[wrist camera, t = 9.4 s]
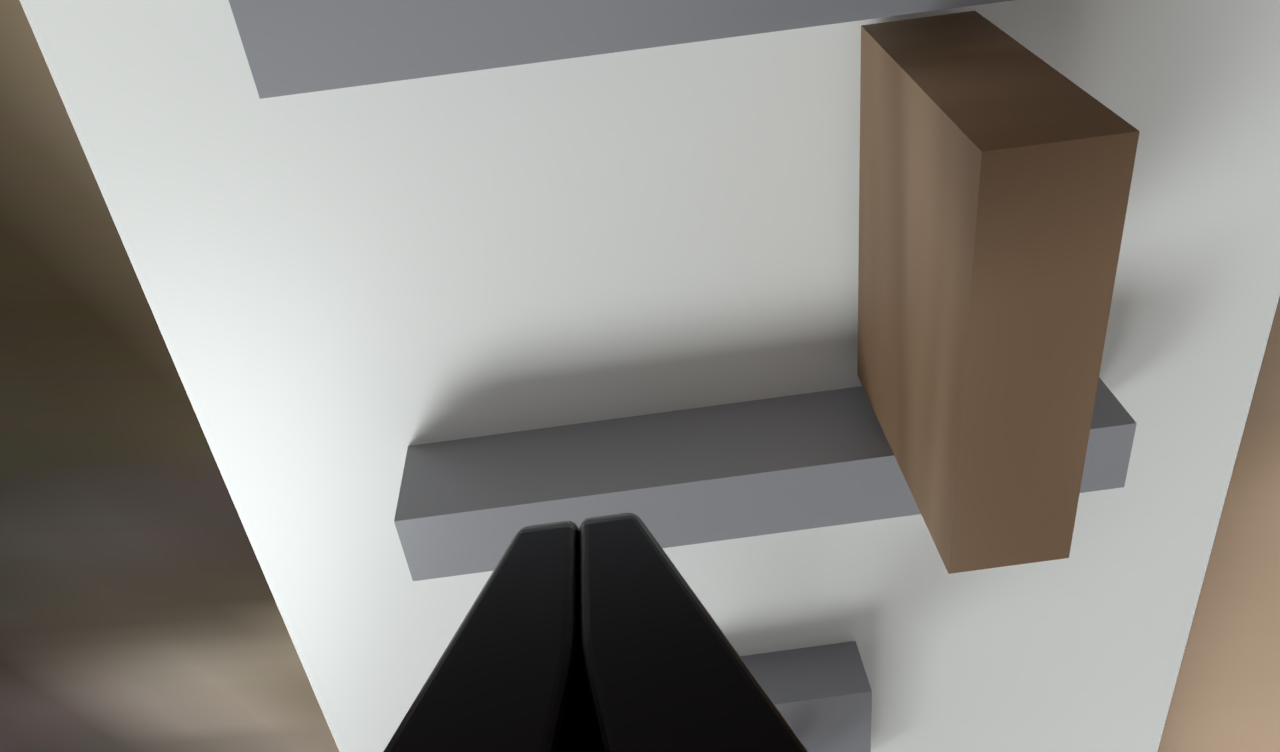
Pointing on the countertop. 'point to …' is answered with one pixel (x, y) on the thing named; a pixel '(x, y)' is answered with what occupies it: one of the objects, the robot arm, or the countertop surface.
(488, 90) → the control panel
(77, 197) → the countertop surface
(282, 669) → the countertop surface
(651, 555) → the robot arm
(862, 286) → the paddle
